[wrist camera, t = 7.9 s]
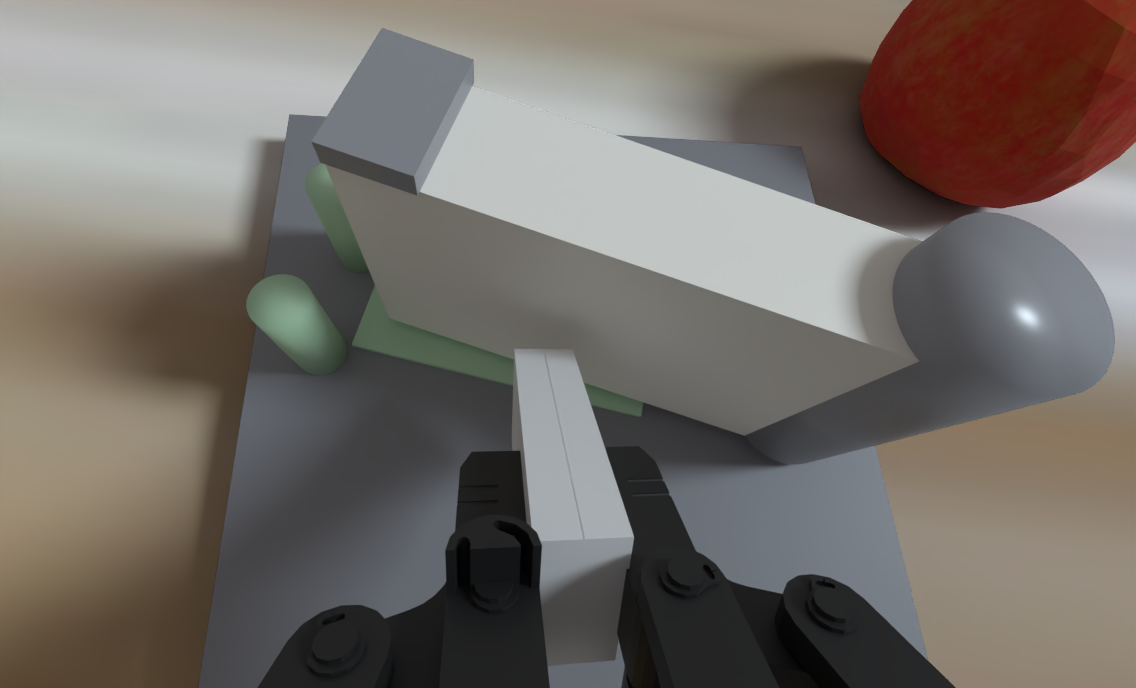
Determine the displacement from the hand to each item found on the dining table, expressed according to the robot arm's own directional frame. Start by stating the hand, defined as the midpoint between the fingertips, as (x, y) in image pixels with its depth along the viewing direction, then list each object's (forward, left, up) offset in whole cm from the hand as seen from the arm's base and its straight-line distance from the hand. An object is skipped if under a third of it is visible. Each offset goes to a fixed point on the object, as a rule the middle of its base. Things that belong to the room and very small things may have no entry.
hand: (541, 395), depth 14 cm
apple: (-21, -14, -6) cm, 26 cm away
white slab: (-3, -2, -4) cm, 5 cm away
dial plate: (-2, -2, -6) cm, 6 cm away
